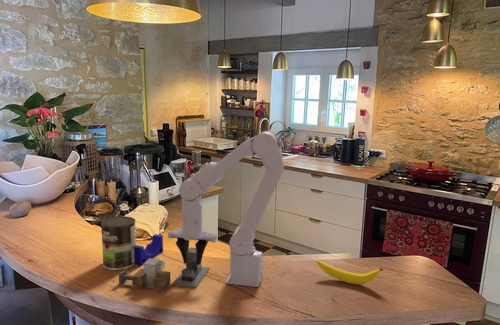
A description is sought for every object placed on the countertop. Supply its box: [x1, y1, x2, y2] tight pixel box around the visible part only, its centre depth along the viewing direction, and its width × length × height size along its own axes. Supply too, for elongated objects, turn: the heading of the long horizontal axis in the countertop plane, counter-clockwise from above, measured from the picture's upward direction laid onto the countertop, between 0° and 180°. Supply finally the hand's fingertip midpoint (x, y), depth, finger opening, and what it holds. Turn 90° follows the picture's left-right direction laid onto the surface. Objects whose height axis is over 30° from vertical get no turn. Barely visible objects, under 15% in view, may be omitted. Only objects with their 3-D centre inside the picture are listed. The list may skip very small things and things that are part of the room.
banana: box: [315, 259, 383, 285], centre depth 106 cm, size 3×19×6 cm, turn 64°
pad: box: [172, 266, 210, 289], centre depth 108 cm, size 7×12×1 cm, turn 168°
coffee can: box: [100, 215, 137, 271], centre depth 116 cm, size 10×10×14 cm
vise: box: [118, 268, 171, 293], centre depth 103 cm, size 14×5×4 cm, turn 78°
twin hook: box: [142, 258, 166, 289], centre depth 108 cm, size 7×13×7 cm, turn 168°
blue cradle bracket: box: [134, 233, 164, 267], centre depth 121 cm, size 12×4×6 cm, turn 159°
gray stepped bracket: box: [181, 246, 202, 282], centre depth 108 cm, size 4×8×7 cm, turn 168°
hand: (192, 262), depth 109 cm, fingers closed on gray stepped bracket, 3 cm apart
